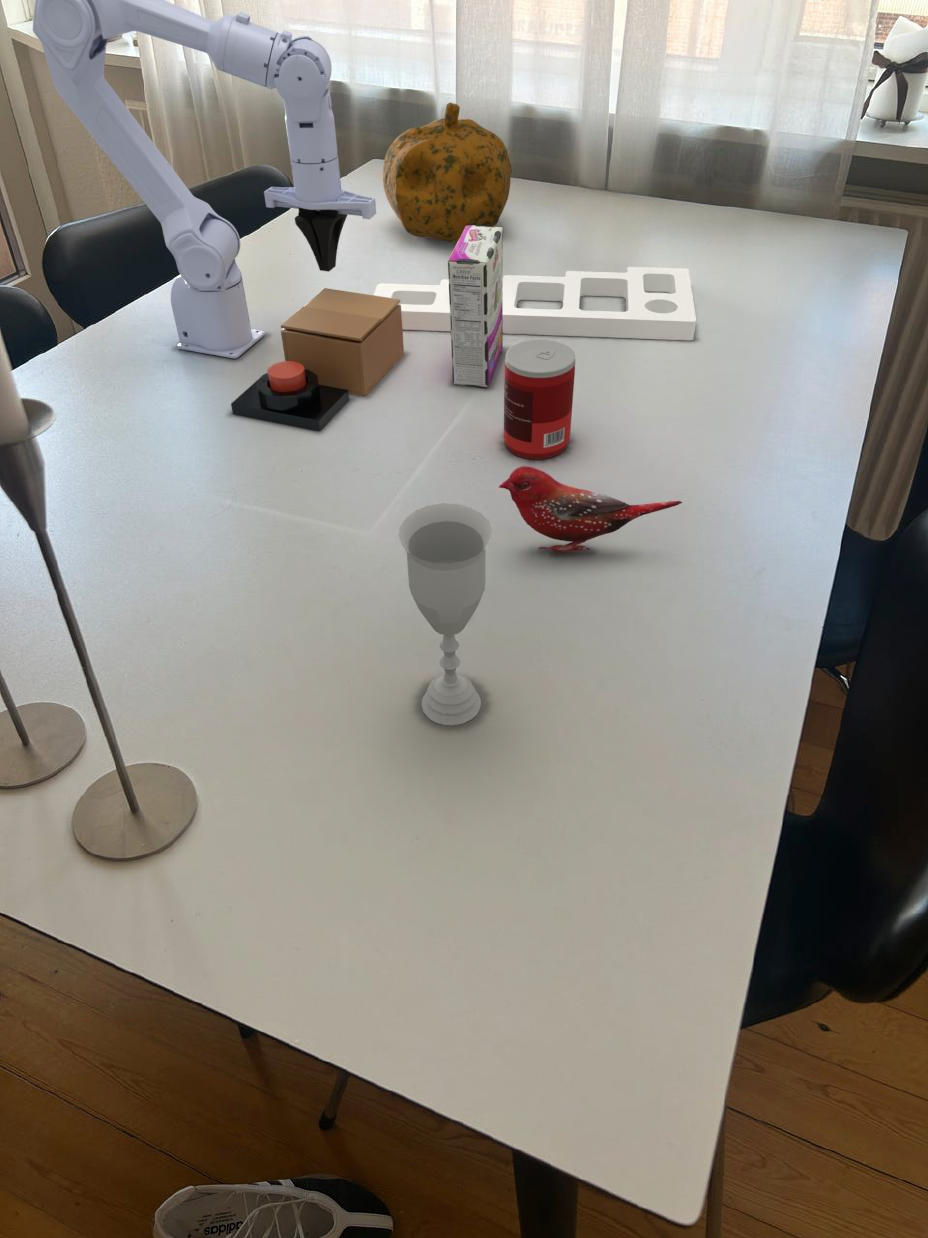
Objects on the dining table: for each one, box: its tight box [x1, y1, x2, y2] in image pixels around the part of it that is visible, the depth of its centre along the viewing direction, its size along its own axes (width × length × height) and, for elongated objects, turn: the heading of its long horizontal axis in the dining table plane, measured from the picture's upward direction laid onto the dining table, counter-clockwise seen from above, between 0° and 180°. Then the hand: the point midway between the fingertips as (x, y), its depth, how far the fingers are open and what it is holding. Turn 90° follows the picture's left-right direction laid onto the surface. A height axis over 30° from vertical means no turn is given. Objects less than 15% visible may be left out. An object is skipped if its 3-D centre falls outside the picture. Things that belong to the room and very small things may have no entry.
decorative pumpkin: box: [382, 101, 513, 243], centre depth 156 cm, size 20×21×20 cm
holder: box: [372, 266, 697, 341], centre depth 139 cm, size 45×18×3 cm, turn 83°
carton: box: [280, 305, 405, 397], centre depth 124 cm, size 12×11×8 cm
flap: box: [303, 287, 400, 321], centre depth 124 cm, size 6×11×1 cm, turn 69°
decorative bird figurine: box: [498, 465, 683, 553], centre depth 94 cm, size 3×18×10 cm, turn 88°
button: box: [267, 360, 306, 392], centre depth 117 cm, size 4×4×2 cm
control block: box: [230, 369, 350, 432], centre depth 118 cm, size 12×8×4 cm, turn 69°
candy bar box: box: [447, 225, 504, 388], centre depth 121 cm, size 11×5×16 cm, turn 168°
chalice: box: [398, 502, 493, 726], centre depth 76 cm, size 7×7×18 cm
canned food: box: [503, 339, 576, 460], centre depth 109 cm, size 8×8×11 cm
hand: (327, 268), depth 125 cm, fingers closed
